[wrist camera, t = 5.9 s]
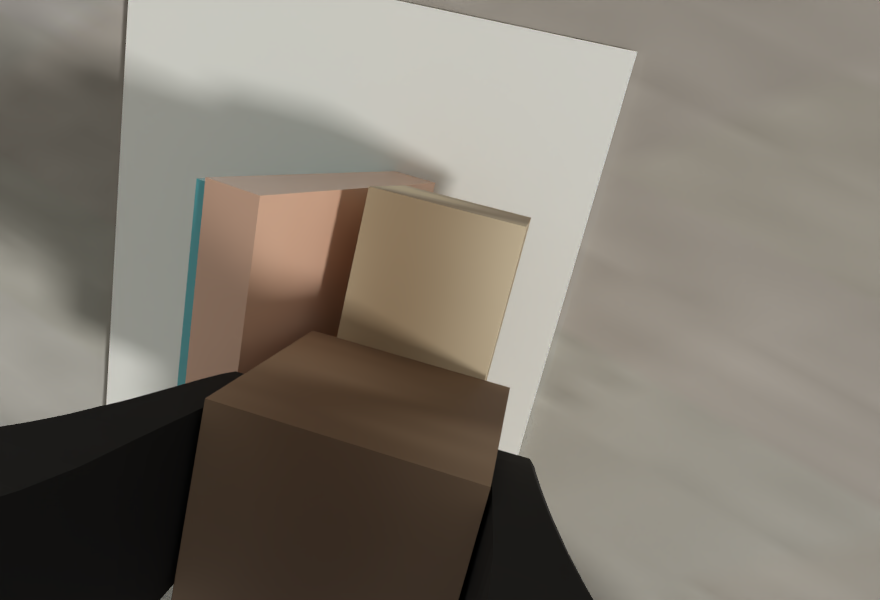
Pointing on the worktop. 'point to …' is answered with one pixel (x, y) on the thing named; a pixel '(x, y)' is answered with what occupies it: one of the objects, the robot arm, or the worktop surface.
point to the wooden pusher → (364, 424)
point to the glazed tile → (270, 263)
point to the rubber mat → (354, 145)
